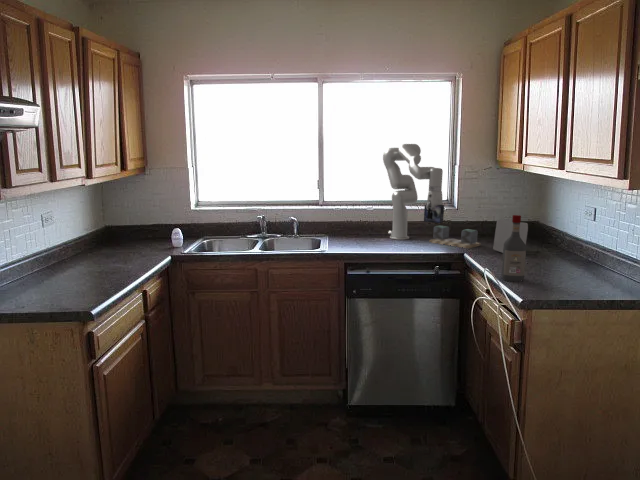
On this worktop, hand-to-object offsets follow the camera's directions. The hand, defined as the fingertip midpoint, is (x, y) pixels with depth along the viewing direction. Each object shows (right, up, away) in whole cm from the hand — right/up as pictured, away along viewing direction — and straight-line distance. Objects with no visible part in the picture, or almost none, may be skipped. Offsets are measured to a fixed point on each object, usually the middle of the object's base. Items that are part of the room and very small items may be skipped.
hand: (433, 217), depth 329 cm
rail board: (+16, -16, +12) cm, 26 cm away
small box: (0, -3, 0) cm, 3 cm away
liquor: (+21, -32, -75) cm, 84 cm away
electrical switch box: (+43, -20, -11) cm, 49 cm away
